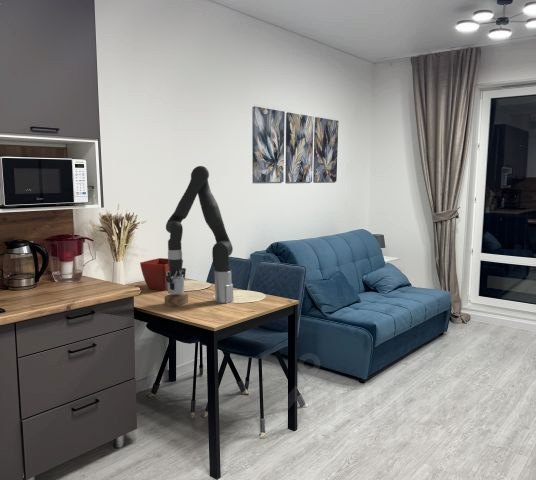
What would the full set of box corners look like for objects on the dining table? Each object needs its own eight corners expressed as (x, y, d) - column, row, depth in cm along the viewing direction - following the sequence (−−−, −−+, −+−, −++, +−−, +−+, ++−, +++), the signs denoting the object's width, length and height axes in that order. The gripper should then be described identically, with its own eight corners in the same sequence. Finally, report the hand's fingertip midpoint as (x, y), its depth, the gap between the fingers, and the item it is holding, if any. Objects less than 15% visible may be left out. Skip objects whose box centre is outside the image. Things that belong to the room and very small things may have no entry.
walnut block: (188, 303, 267) (187, 294, 266) (178, 307, 259) (178, 298, 258) (174, 301, 271) (174, 292, 270) (164, 305, 262) (164, 296, 262)
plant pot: (160, 283, 315) (159, 257, 313) (184, 286, 306) (183, 259, 304) (140, 289, 298) (139, 262, 296) (165, 292, 289) (164, 264, 287)
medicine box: (184, 292, 265) (184, 276, 264) (181, 294, 261) (180, 278, 259) (171, 291, 267) (170, 276, 266) (167, 293, 263) (167, 277, 262)
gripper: (170, 260, 253) (172, 292, 256) (189, 256, 265) (190, 286, 268) (160, 259, 257) (161, 290, 260) (179, 255, 269) (180, 285, 272)
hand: (176, 288), depth 264 cm, fingers closed on medicine box, 5 cm apart
